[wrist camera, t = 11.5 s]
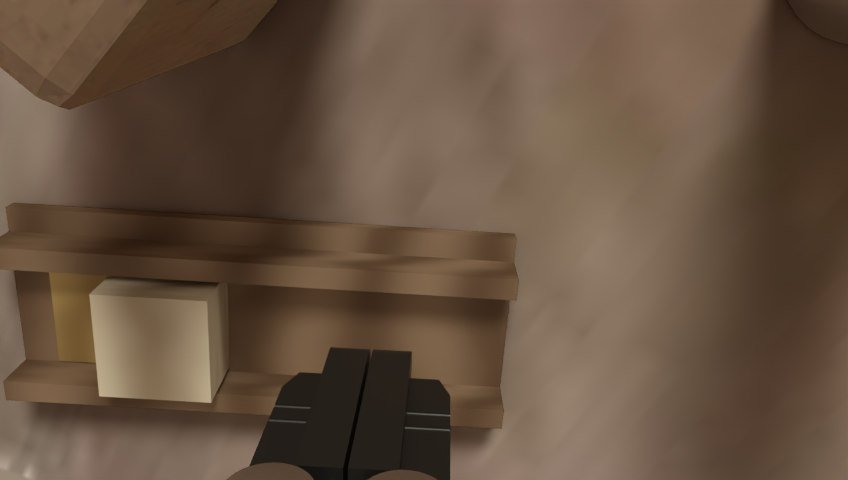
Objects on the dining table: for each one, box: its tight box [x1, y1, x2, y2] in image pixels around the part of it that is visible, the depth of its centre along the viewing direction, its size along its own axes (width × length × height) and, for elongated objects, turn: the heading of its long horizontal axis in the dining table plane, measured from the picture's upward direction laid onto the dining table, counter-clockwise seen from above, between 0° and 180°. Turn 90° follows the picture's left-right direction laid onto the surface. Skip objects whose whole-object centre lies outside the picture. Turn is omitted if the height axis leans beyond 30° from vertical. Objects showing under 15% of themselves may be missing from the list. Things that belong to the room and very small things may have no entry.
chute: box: [0, 203, 519, 429], centre depth 42 cm, size 28×12×3 cm, turn 86°
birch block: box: [89, 276, 230, 403], centre depth 41 cm, size 6×6×4 cm
